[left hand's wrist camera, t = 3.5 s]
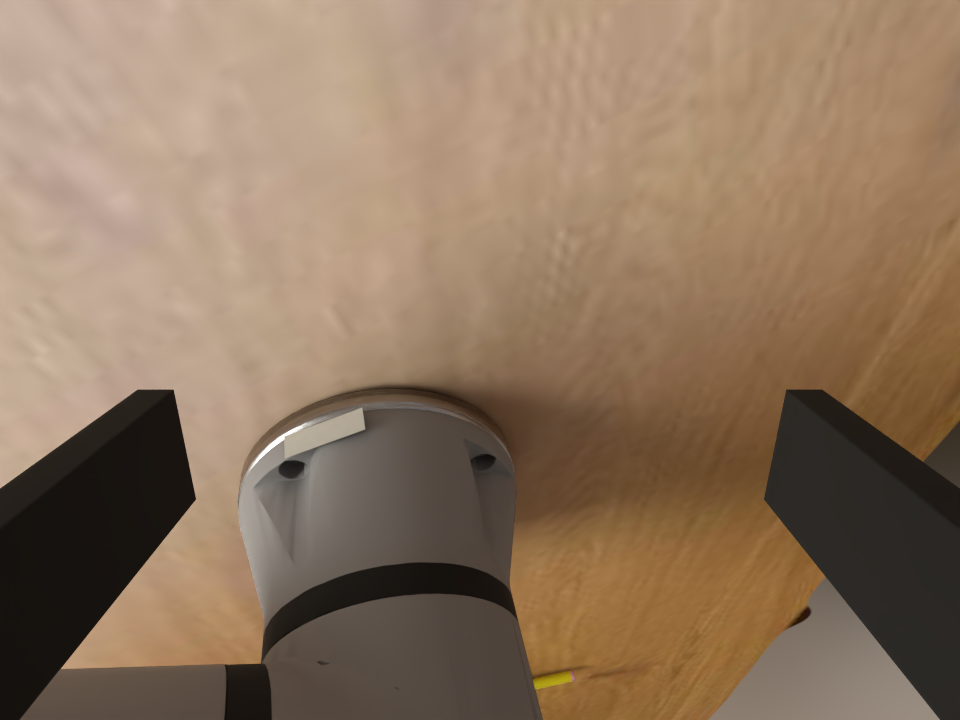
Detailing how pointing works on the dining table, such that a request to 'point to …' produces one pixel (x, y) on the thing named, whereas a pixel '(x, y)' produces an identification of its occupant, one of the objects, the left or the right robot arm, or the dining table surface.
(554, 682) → the pencil
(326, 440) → the left robot arm
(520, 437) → the dining table surface
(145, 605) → the dining table surface
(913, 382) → the dining table surface
